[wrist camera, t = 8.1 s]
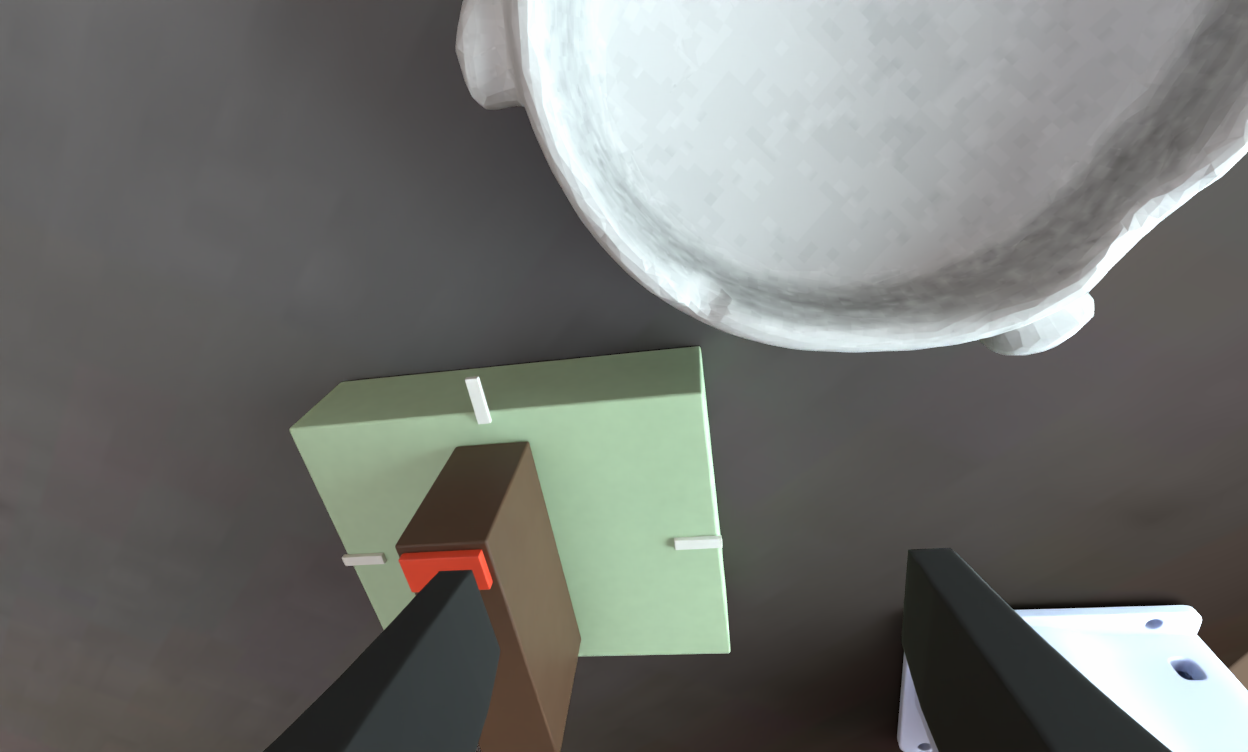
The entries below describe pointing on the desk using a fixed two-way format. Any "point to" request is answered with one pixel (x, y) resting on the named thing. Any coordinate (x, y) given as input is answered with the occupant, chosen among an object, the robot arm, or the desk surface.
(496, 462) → the brown block
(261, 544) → the desk surface
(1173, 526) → the desk surface
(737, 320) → the dish
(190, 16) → the desk surface
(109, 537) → the desk surface
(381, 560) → the stand
